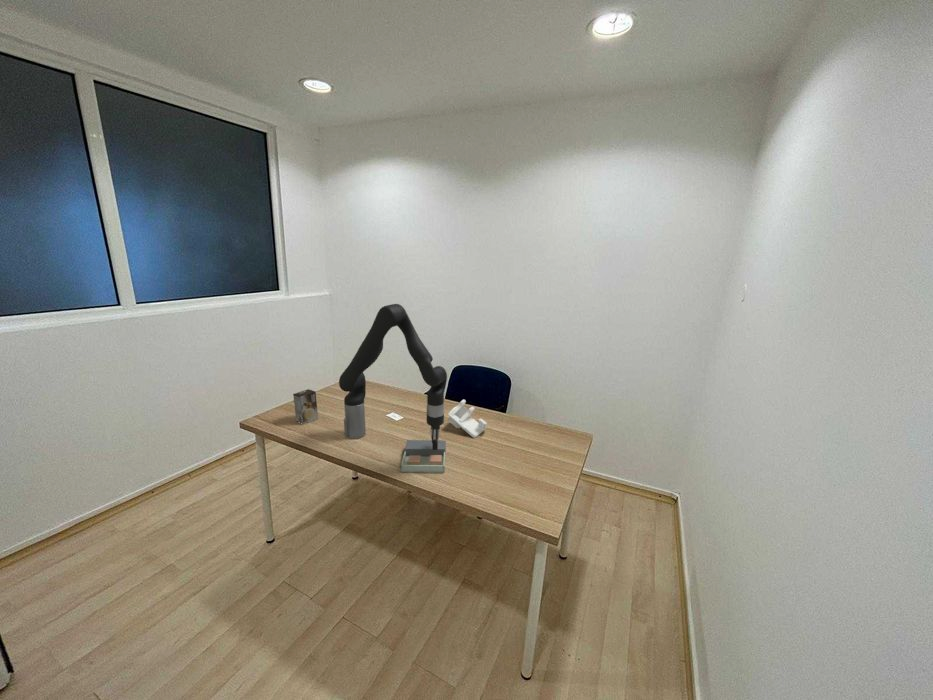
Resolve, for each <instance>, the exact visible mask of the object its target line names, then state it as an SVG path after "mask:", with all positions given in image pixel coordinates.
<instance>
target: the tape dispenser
mask: <svg viewBox="0 0 933 700" xmlns="http://www.w3.org/2000/svg"><path fill="white" fill-rule="evenodd" d="M466 402H467V401H466V399H462V400H461V401H460V402H459V404H458V405H456V406H454V407H453V408H452V409H451V410H450V411H449V412H448V413H447V416H448V417H449V418H447V421H448V422H449V423H450V424H451V425H453V426H454V427H455V428H456V429H458V430H460V429H462V430H463V431H465V432H466V433H467V434H468V435H470V436H471V437H472V438H473V439H476V438H477V437H478V436H479V435H481V433H483V432H484V431H485V430H486V428H487V426H488V422H486V421H485V419H483V418H478V420H476V419H474V418H472V417H470V416H471V414H472V413H474V411H475V409H476V407H474V406H471V407H469V409H467V408H466V407H465V406H464V405H465V404H466Z"/></svg>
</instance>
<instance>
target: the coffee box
mask: <svg viewBox="0 0 933 700" xmlns="http://www.w3.org/2000/svg"><path fill="white" fill-rule="evenodd" d="M316 393H317V392H316V391H315V390H312V389H309V388H308V389H305V390H302V391H299V392H296V393H293V394H292V395H293V404H294V412H295V414H294V415H295V421H298V422H300V423H302V424H304V425H306V424H305V423H307V422H309V423H311V422H314V421H316V420H318V419H319V413H318V402H317V394H316ZM313 420H314V421H313ZM310 421H311V422H310ZM298 422H297V423H298ZM300 423H299V424H300ZM302 424H301V425H302ZM307 424H308V423H307Z"/></svg>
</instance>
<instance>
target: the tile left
mask: <svg viewBox="0 0 933 700" xmlns="http://www.w3.org/2000/svg"><path fill="white" fill-rule="evenodd" d="M420 463H421V455H409V459H408V465H420Z"/></svg>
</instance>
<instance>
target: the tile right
mask: <svg viewBox="0 0 933 700" xmlns="http://www.w3.org/2000/svg"><path fill="white" fill-rule="evenodd" d="M441 464H442V455H430V465H441Z"/></svg>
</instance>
